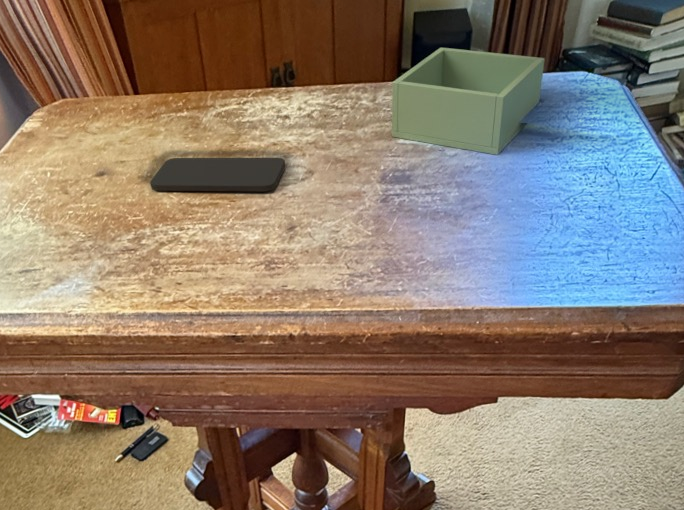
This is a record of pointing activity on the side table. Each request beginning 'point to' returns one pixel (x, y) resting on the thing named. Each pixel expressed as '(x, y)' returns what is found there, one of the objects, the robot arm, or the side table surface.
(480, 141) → the bin
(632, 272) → the side table surface
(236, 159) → the phone
